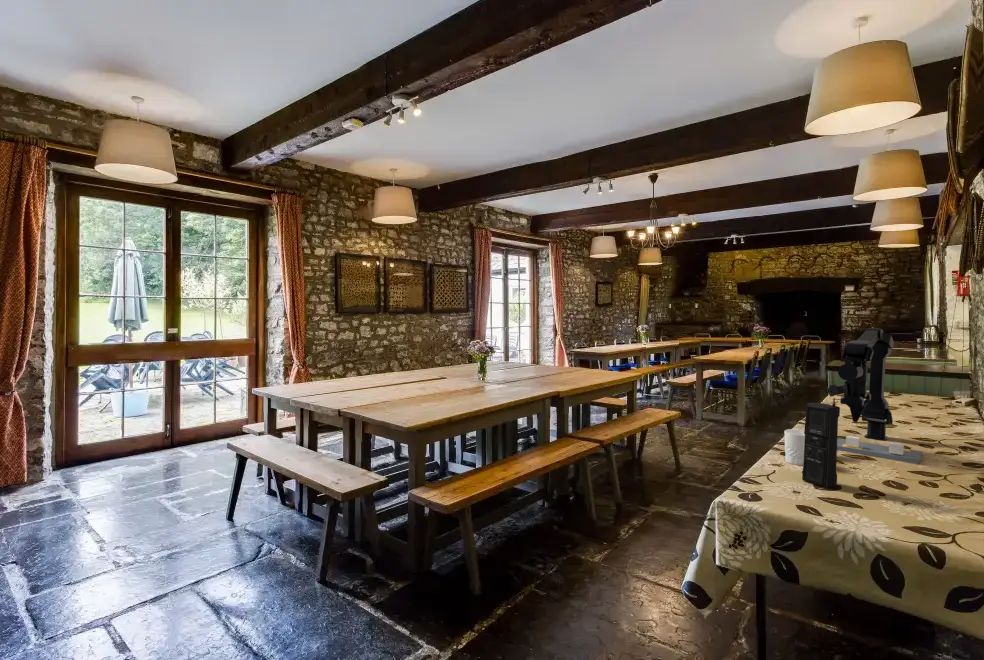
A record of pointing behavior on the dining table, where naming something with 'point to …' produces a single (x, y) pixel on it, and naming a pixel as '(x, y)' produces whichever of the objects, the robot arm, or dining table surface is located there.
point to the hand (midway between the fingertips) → (855, 421)
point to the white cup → (794, 446)
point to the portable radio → (821, 444)
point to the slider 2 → (896, 448)
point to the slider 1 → (852, 441)
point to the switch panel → (880, 451)
